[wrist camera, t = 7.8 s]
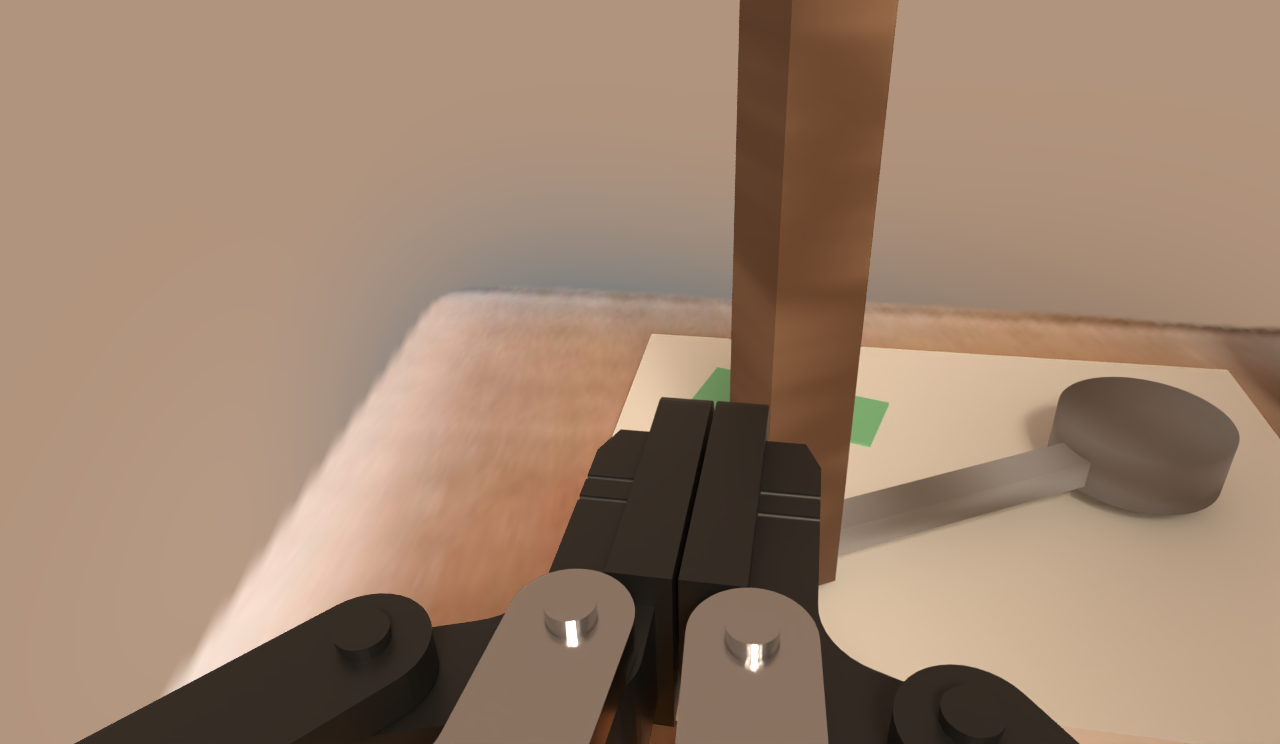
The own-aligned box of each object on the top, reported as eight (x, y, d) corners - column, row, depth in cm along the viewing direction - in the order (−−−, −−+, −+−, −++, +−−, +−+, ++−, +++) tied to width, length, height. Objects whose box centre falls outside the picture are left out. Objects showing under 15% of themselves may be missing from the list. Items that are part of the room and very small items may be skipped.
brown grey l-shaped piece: (1130, 413, 27) (1312, -202, 19) (1259, 495, 24) (1547, -218, 16) (672, 529, 23) (662, -190, 15) (743, 650, 20) (778, -208, 12)
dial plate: (1214, 406, 31) (1228, 367, 30) (1508, 837, 17) (1547, 786, 17) (652, 367, 35) (651, 331, 34) (534, 700, 21) (527, 653, 20)
